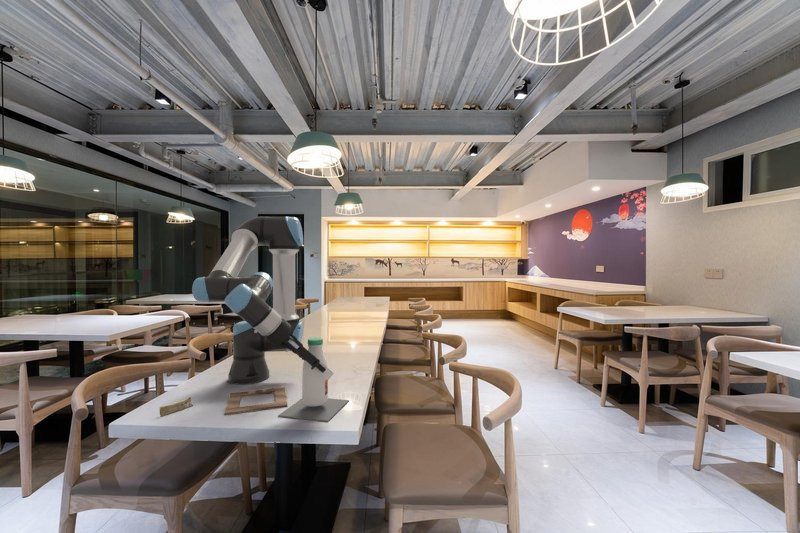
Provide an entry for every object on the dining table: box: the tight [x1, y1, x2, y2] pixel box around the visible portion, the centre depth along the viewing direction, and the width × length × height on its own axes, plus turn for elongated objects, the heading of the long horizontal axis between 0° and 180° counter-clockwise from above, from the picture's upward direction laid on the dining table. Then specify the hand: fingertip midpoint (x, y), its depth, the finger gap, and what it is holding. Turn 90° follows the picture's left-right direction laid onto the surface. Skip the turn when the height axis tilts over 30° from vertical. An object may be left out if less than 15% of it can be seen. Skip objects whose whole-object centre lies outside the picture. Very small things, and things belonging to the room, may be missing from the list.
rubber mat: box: [277, 397, 350, 423], centre depth 111 cm, size 16×16×1 cm
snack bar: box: [159, 396, 194, 418], centre depth 110 cm, size 10×2×3 cm, turn 150°
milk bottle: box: [301, 337, 329, 407], centre depth 111 cm, size 8×8×20 cm
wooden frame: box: [224, 386, 288, 416], centre depth 118 cm, size 18×18×1 cm
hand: (325, 373), depth 113 cm, fingers closed on milk bottle, 7 cm apart
